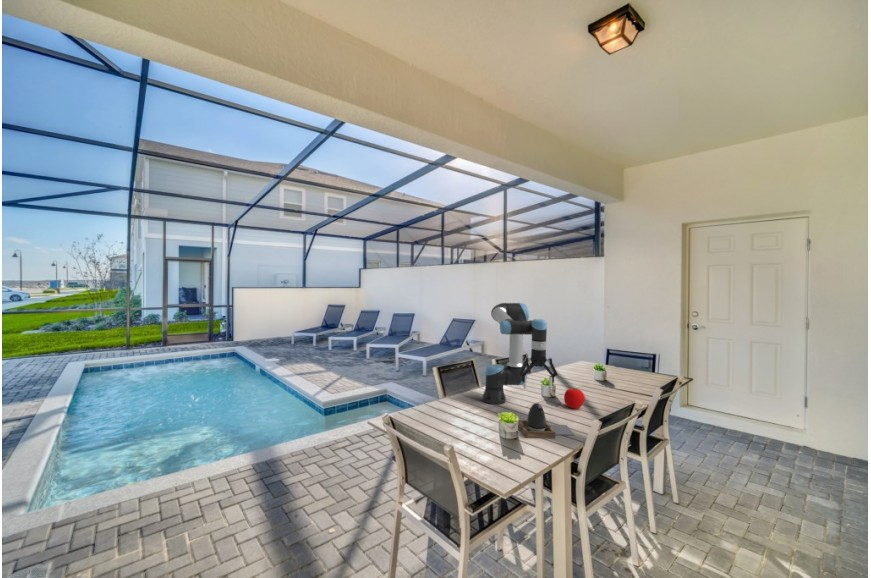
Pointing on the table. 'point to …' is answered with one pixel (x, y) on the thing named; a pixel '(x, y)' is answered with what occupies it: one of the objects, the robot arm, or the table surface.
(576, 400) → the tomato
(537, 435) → the frame
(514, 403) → the table surface
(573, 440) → the table surface
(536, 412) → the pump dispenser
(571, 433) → the rubber mat
